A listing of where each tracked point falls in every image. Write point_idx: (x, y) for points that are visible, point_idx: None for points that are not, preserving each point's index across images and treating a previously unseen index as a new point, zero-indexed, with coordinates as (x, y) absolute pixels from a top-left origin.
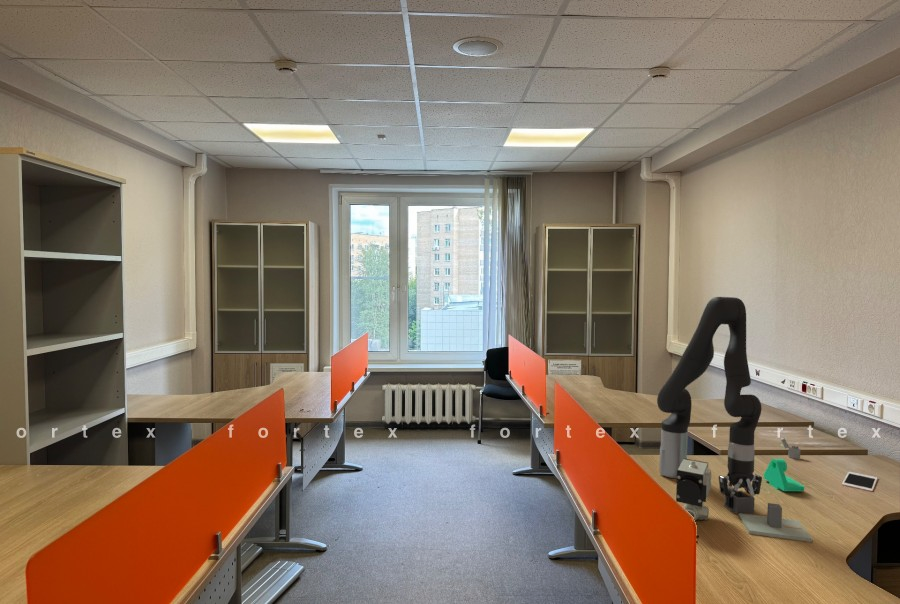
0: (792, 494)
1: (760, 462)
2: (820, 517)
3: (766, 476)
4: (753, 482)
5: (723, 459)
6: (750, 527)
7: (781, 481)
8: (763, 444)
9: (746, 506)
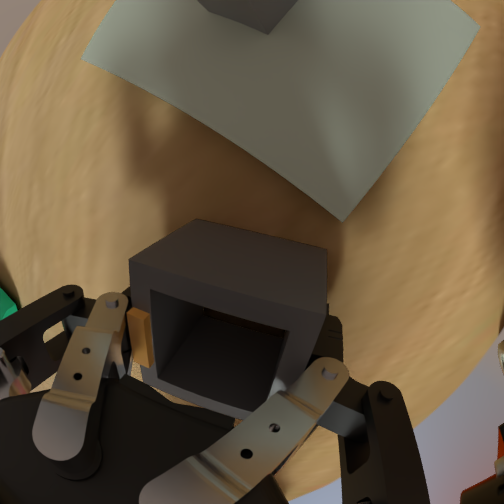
0: (9, 285)
1: None
2: (13, 124)
3: None
4: (39, 371)
5: None
6: (453, 35)
7: None
8: None
9: (238, 249)
